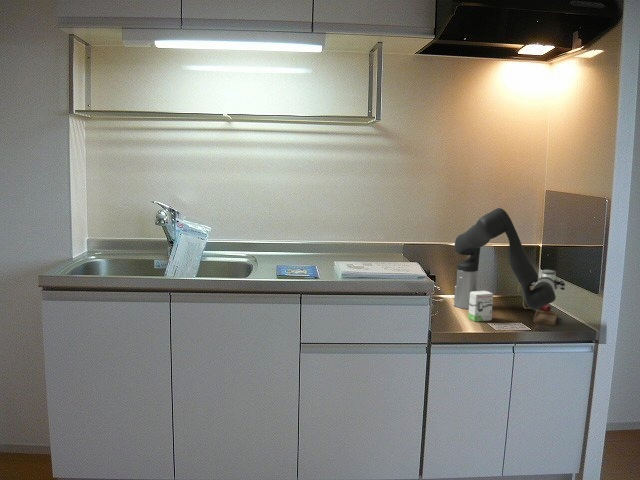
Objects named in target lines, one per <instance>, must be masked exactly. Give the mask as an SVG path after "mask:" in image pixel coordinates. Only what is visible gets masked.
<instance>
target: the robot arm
mask: <svg viewBox="0 0 640 480" xmlns="http://www.w3.org/2000/svg"><path fill="white" fill-rule="evenodd" d="M504 233H505V235H506V236H507V237H506V238H507V240H508V244H509V265H510V269H511V271H512V273H513V274H514V275H515V277H516V279H517V281H518V282H519V285H520V284H521V287H522V288H521V287H520V288H521V289H522V293H523V296H524V302H525V304H526V306H527V307H529V308H531V309H530V310H534V311H536V309H537V310H539V309H541V307H543V306H545V305H550V304H552V303H553V302H555V300H556V299H557V298H556V294H555V292H556V289H560V290H561V291H564V290H566V288H565V286H566V284H565V281H563V280H559V279H558V278H555V280H552V279H551V278H549V277H542V276H541V277H539V274H538V273H537V271H536V269H535V267H534V265H533V264H532V262H531V261H530V259H529V257H528V255H527V254H526V252H525V249H524V247H523V245H522V242H521V239H520V236H519V234H518V231H517V230H516V228H515V225H514V223H513V221H512V219H511V217H510V216H509V214H508V212H506V210H504V208H501V207H498V208H495V209H493V210H492V211H490V212H488V213H486V214H484V215H482V216H481V217H479V219H478V220H477V221H476V222H475V224H473V225H472V226H471V227H469V228H468V229H467V230H466V231H464V232H463V233H461V234H459V235H458V236H456V238H455V241H454V250H455V252H456V253H457V255H461V256H469V257H468V258H467V259H464V260H463V261H460V262H457V265H456V266H457V267H456V285H455V286H454V299H453V300H454V301H453V307H456V308H459V309H463V310H464V309H466V310H469V300H470V292H474V291H478V281H479V280H478V278H479V265H480V254H481V248H483V247H484V246H486V245H487V244H488V243H489V242H490V240H492V239H495V238H497V237H499V236H501V235H503V234H504ZM530 286H531V287H533V289H532V290H530Z"/></svg>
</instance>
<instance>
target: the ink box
mask: <svg viewBox="0 0 640 480" xmlns="http://www.w3.org/2000/svg"><path fill="white" fill-rule="evenodd" d="M493 300H494V293H492V292H490V291H488V290H477V291H474V292H470V300H469V309H468V319H469V320H470V321H473V322H486V321H491V320H492V319H493V318H492V317H493V316H492V315H493V302H494V301H493Z"/></svg>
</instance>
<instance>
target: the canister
mask: <svg viewBox="0 0 640 480" xmlns="http://www.w3.org/2000/svg"><path fill="white" fill-rule="evenodd" d="M541 271H542V276H541V277H549V278H551V279H552V280H555V279H556V274H557V270H552V269H542V270H541Z"/></svg>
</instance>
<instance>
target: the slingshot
mask: <svg viewBox="0 0 640 480" xmlns="http://www.w3.org/2000/svg"><path fill="white" fill-rule="evenodd" d="M520 288H521V289H522V287H521V284H520V283H519V286H518V287H517V290H518V294H519V295H520V297H521V298H522V306H523V308H524V309H526V310H528V309H530V310H532V309H531V308H529V307H528V306H527V307H526V305H525V298H524V295H523V296H522V293H521V292H520ZM530 290H533V289H532V286H530ZM551 309H552V307H551V306H550V305H549V304H547V305H545V306H543V307H541V308H540V310H539V309H536V310H535V312H536V311H537V310H538V311H545V312H551Z"/></svg>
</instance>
